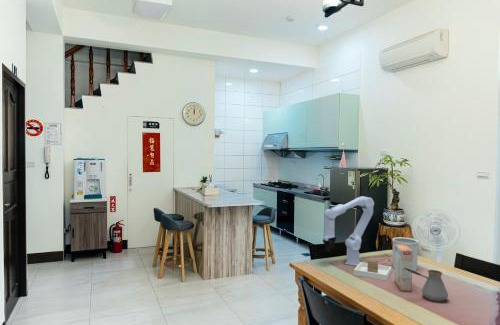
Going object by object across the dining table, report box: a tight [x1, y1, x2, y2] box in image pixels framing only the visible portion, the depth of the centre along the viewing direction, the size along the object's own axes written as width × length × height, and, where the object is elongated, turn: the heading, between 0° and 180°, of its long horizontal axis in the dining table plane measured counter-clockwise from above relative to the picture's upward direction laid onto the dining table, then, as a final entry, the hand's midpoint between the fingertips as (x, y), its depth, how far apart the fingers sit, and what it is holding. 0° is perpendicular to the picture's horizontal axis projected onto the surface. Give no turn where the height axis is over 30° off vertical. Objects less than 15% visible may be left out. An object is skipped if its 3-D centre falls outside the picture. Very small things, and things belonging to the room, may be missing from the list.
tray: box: [353, 261, 393, 281], centre depth 206 cm, size 18×18×3 cm
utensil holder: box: [391, 236, 420, 272], centre depth 217 cm, size 15×15×18 cm
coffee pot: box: [403, 268, 449, 302], centre depth 169 cm, size 21×12×15 cm, turn 93°
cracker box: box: [394, 244, 413, 292], centre depth 185 cm, size 14×6×21 cm, turn 168°
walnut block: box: [367, 260, 379, 273], centre depth 206 cm, size 5×5×6 cm
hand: (329, 249), depth 222 cm, fingers open, 7 cm apart
